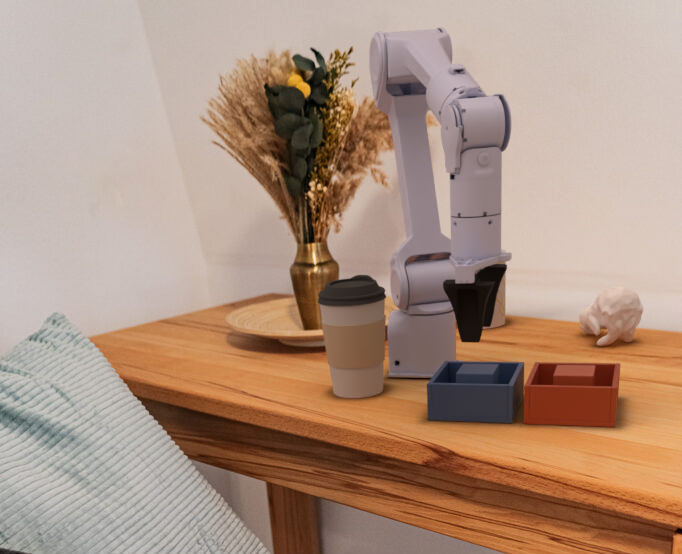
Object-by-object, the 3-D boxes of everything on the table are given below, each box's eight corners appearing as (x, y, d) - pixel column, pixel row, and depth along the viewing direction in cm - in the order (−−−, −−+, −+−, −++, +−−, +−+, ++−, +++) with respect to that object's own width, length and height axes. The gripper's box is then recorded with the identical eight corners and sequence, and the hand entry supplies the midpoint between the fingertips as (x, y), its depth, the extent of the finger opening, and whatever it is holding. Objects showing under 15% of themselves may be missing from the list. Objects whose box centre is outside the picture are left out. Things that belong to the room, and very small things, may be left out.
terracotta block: (552, 411, 100) (553, 375, 98) (555, 400, 104) (557, 364, 102) (591, 413, 98) (593, 375, 96) (593, 401, 102) (595, 365, 100)
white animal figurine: (608, 290, 121) (567, 285, 132) (608, 349, 124) (567, 340, 135) (647, 284, 122) (603, 280, 133) (646, 343, 125) (602, 334, 136)
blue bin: (427, 420, 102) (426, 383, 100) (445, 394, 111) (444, 360, 109) (512, 423, 99) (512, 385, 97) (523, 397, 108) (524, 361, 106)
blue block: (456, 408, 103) (455, 373, 101) (463, 397, 107) (462, 363, 105) (492, 410, 102) (493, 374, 100) (498, 398, 106) (498, 363, 104)
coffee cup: (369, 403, 110) (362, 287, 103) (312, 396, 114) (302, 285, 108) (402, 384, 116) (397, 274, 110) (347, 378, 121) (340, 272, 115)
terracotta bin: (523, 423, 98) (524, 385, 96) (534, 397, 107) (535, 362, 105) (614, 427, 95) (617, 388, 93) (617, 399, 104) (620, 363, 102)
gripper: (501, 221, 88) (500, 349, 93) (520, 205, 100) (518, 319, 106) (435, 224, 90) (438, 348, 96) (461, 208, 102) (463, 320, 108)
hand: (476, 333), depth 101 cm, fingers open, 7 cm apart
